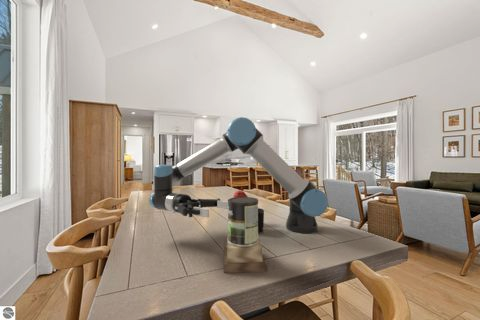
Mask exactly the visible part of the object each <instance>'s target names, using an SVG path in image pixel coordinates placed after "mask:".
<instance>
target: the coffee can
mask: <svg viewBox="0 0 480 320" xmlns="http://www.w3.org/2000/svg"><path fill="white" fill-rule="evenodd" d="M227 202H228V209H227V210H228V211H227V213H228V216H227V218H228V220H227V224H228V226H227V227H228V229H227V230H228V231H227V232H228V235H227V236H228V242H229V244H231V245H233V246H237V247H250V246H253V245H256V244H257V243H258V238H259V233H258V208H259V199H258V198H255V197H250V196H248V197H235V198H234V197H231V198H228V199H227Z"/></svg>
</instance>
